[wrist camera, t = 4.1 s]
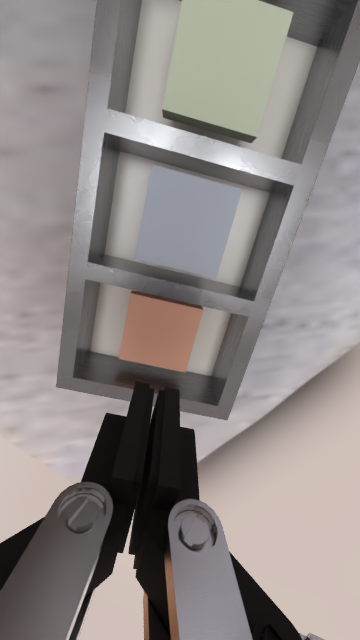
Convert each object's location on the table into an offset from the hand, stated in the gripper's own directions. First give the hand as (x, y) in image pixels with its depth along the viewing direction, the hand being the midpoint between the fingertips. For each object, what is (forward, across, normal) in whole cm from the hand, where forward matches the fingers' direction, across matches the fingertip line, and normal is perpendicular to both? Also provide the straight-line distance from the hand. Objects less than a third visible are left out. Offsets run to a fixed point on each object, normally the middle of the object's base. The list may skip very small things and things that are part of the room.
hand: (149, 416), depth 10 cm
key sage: (+11, 0, -14) cm, 18 cm away
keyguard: (+11, 0, -7) cm, 13 cm away
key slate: (+10, 0, -7) cm, 12 cm away
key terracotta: (+12, 0, +1) cm, 12 cm away
